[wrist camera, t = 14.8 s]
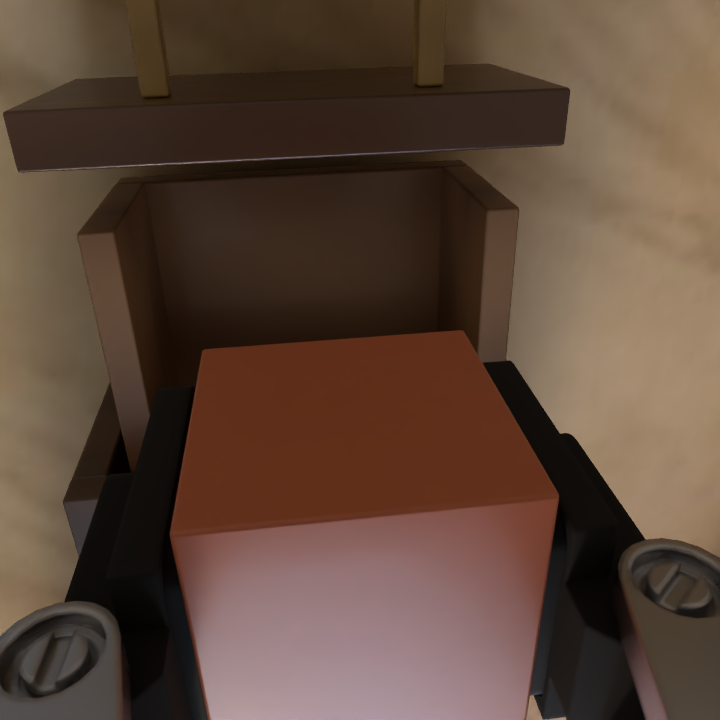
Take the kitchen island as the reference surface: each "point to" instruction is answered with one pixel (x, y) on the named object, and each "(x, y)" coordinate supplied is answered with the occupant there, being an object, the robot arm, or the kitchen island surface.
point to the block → (360, 533)
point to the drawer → (287, 204)
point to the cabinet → (95, 468)
